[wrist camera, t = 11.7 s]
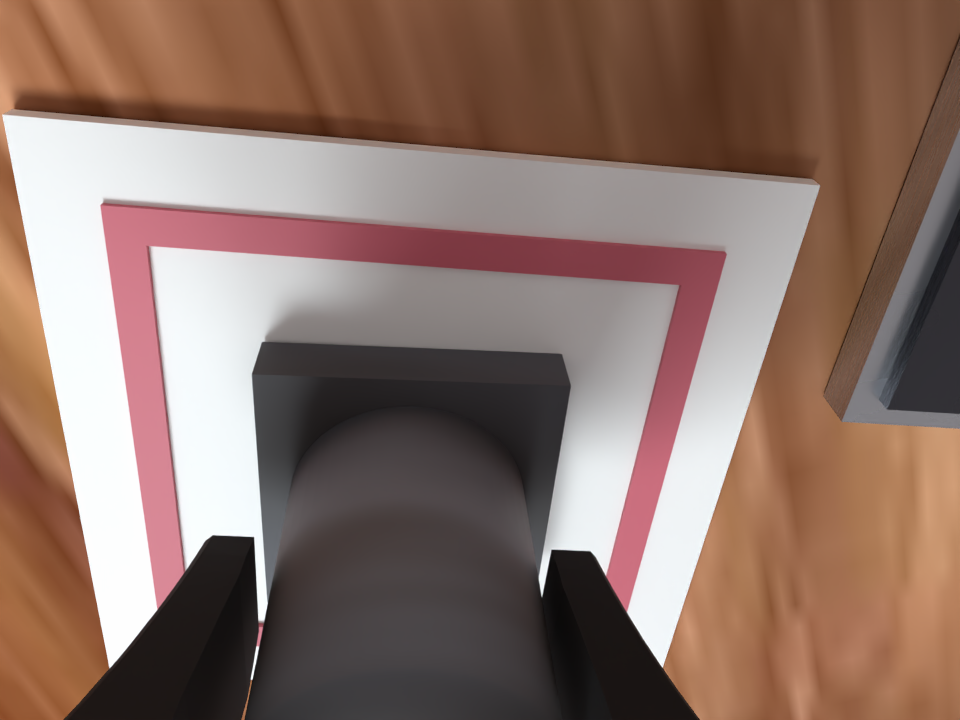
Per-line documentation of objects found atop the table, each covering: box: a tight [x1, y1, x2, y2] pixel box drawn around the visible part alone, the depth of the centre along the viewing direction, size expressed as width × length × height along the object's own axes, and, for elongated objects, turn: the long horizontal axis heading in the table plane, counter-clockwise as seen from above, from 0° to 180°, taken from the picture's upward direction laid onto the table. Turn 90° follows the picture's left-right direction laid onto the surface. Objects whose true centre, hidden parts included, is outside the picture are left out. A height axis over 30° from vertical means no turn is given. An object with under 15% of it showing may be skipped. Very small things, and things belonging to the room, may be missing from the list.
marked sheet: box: [3, 109, 820, 680], centre depth 15 cm, size 12×12×1 cm
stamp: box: [245, 342, 571, 720], centre depth 13 cm, size 5×5×6 cm
